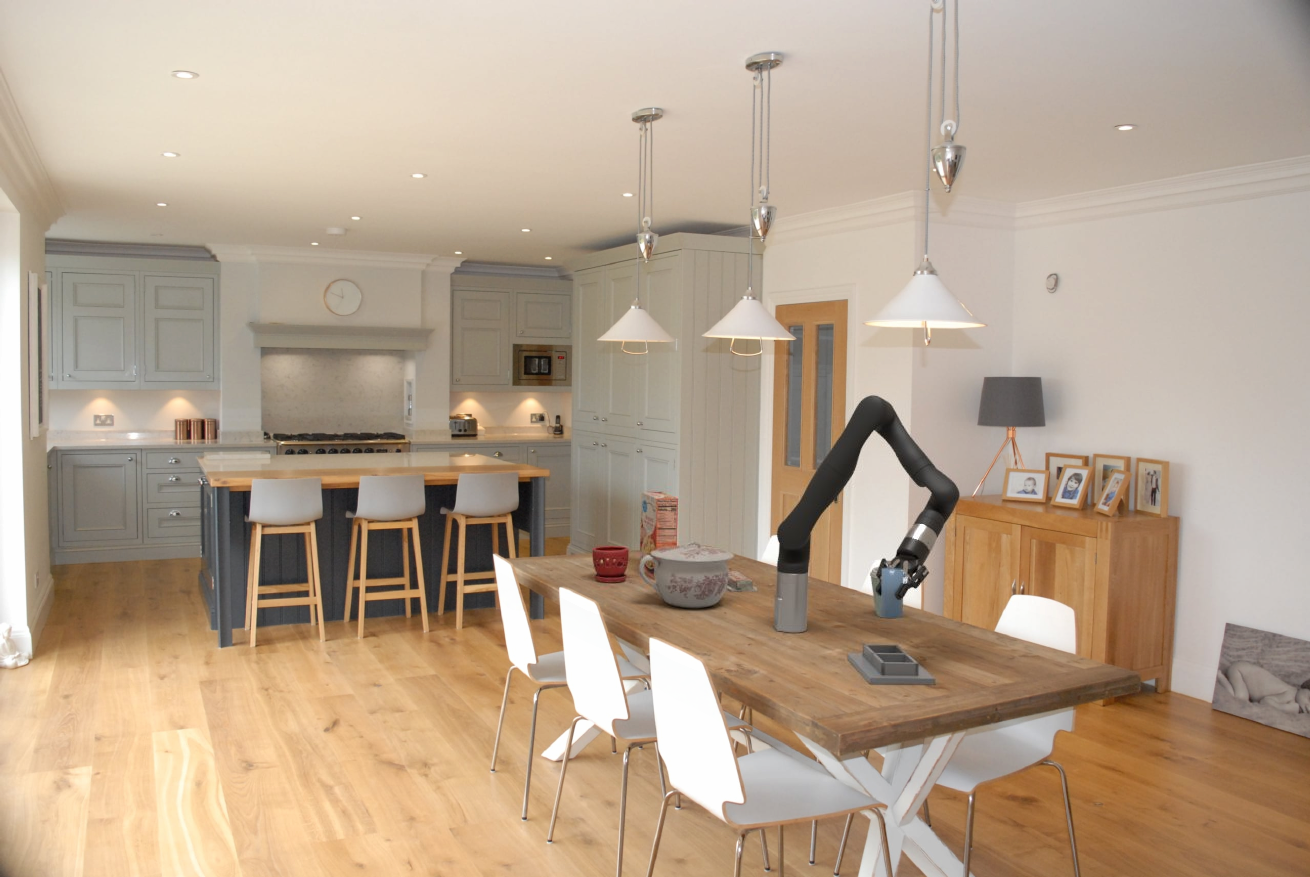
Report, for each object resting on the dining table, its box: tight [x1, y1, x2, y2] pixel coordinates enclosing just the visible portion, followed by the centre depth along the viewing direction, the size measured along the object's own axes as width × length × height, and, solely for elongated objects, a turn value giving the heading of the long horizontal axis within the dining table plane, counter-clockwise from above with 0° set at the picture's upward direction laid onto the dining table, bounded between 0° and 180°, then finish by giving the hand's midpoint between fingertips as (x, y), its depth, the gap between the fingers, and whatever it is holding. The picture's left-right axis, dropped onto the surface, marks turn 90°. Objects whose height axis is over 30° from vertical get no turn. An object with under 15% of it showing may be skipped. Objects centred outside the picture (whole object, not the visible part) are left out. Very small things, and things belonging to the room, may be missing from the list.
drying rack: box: [846, 643, 936, 686], centre depth 244 cm, size 16×22×4 cm
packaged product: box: [726, 570, 759, 593], centre depth 346 cm, size 18×5×10 cm
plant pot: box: [592, 545, 630, 583], centre depth 351 cm, size 13×13×12 cm
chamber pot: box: [637, 540, 735, 610], centre depth 315 cm, size 28×28×21 cm
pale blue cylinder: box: [881, 567, 904, 619], centre depth 249 cm, size 6×6×12 cm
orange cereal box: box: [639, 491, 679, 581], centre depth 366 cm, size 23×8×30 cm, turn 15°
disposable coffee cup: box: [869, 566, 888, 619], centre depth 306 cm, size 11×11×15 cm
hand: (887, 595), depth 247 cm, fingers closed on pale blue cylinder, 5 cm apart
